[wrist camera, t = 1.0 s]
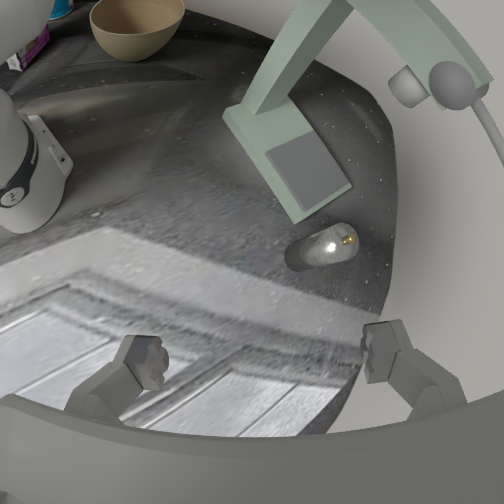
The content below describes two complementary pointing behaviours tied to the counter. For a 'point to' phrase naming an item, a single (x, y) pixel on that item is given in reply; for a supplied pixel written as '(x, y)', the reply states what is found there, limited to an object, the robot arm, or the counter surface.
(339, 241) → the housing
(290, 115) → the press
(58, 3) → the beverage bottle
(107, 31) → the beige bowl
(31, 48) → the candy bar box
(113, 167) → the counter surface
